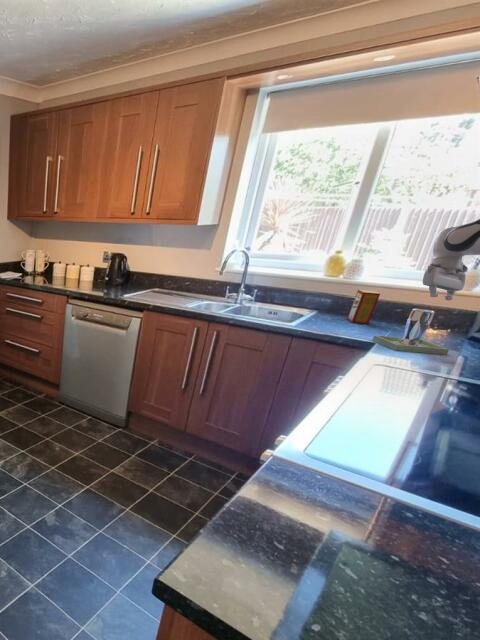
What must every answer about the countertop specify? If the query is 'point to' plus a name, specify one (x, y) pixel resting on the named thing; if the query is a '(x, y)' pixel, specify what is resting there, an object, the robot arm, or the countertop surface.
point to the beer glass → (416, 326)
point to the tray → (423, 346)
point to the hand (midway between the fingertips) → (441, 298)
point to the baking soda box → (363, 306)
